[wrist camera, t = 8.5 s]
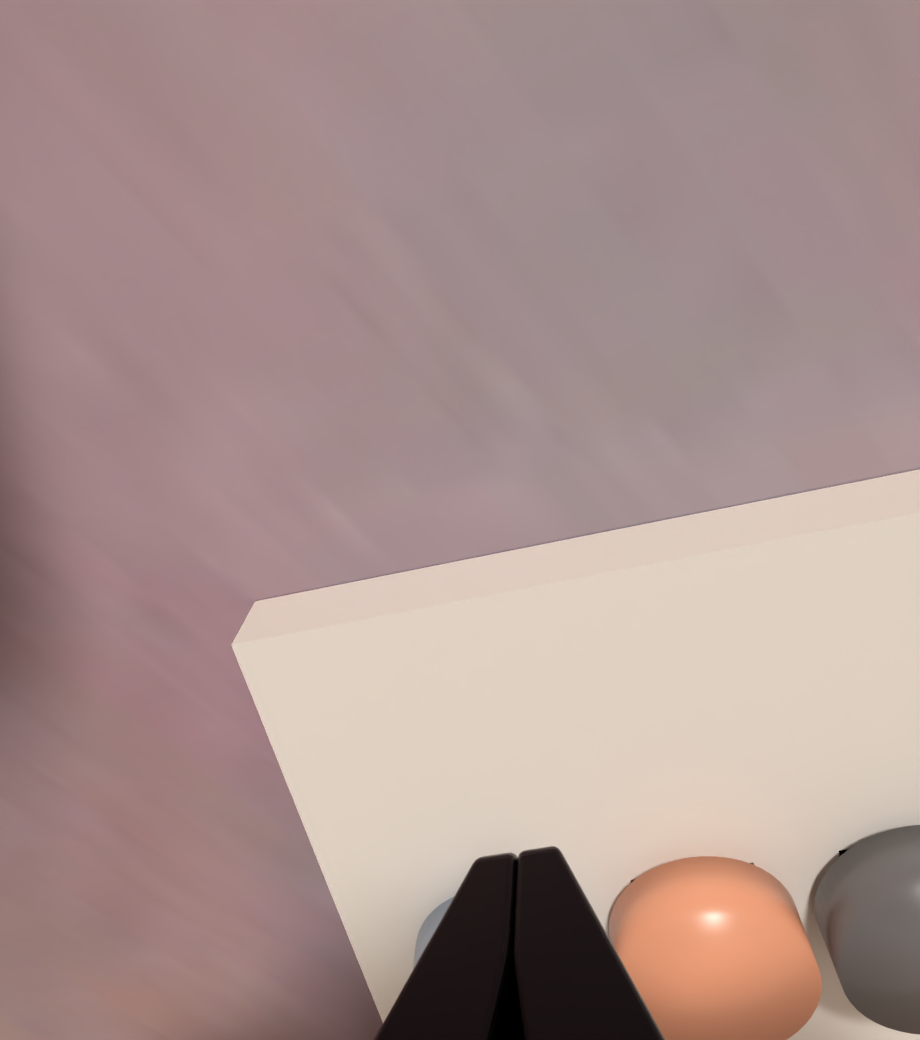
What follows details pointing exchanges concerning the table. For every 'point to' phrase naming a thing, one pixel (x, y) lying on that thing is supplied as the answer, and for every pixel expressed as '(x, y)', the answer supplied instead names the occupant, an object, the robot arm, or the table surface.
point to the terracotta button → (716, 951)
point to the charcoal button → (876, 926)
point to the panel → (607, 712)
